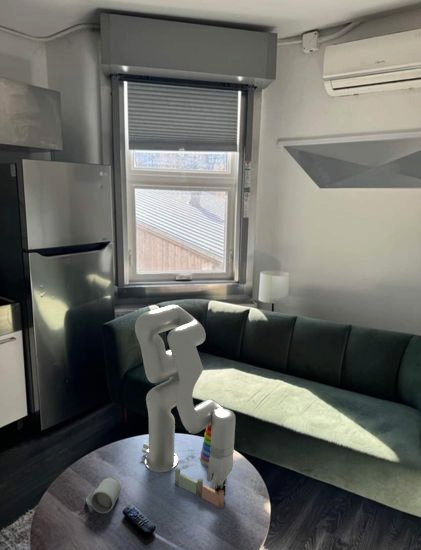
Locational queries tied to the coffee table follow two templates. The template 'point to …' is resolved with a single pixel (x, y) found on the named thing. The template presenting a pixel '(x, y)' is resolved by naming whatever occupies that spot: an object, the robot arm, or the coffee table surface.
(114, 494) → the ceramic mug
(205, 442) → the stacking toy
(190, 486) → the bar
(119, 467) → the coffee table surface
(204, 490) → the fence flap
